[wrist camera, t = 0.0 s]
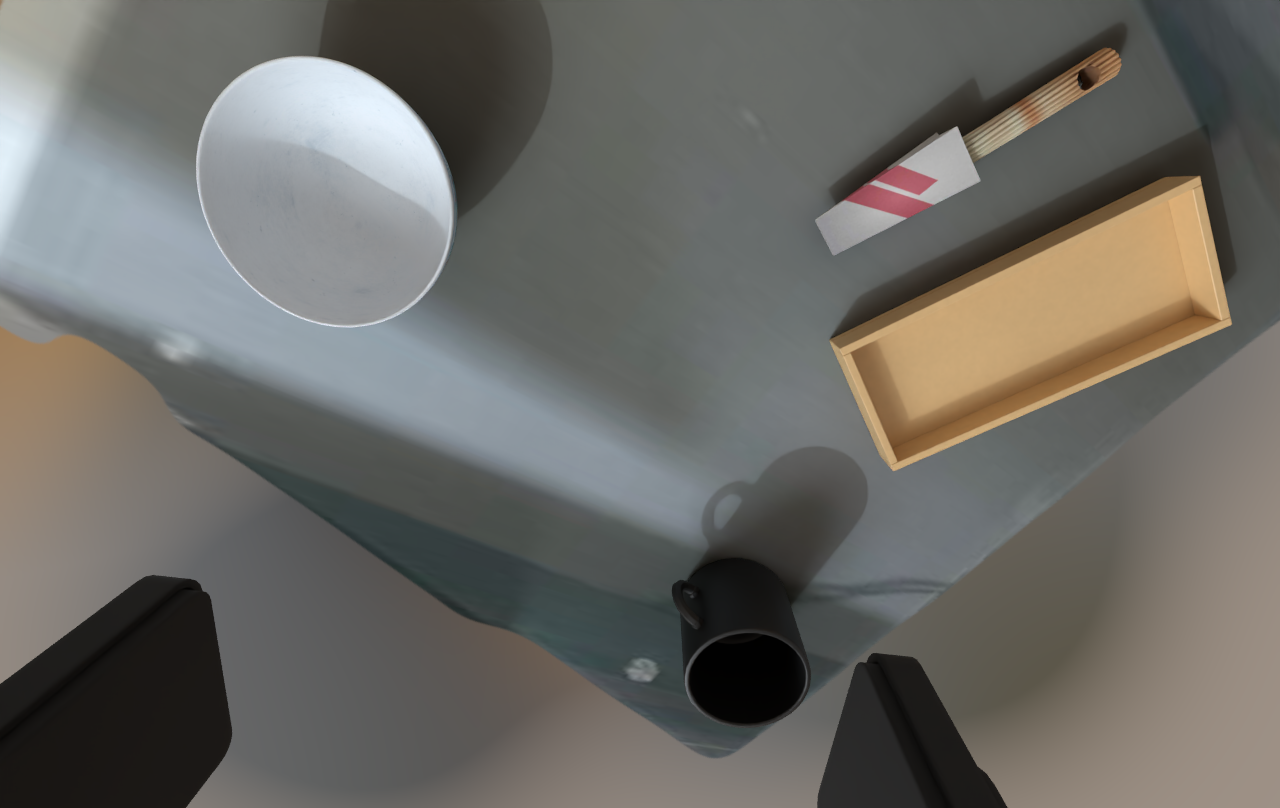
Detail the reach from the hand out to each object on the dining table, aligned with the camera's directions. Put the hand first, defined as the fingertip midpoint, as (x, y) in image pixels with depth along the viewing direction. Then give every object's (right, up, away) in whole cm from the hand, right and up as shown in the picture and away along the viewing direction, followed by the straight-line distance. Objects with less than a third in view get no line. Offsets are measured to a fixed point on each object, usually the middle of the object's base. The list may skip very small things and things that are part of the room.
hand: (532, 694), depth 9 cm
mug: (+9, -12, +44) cm, 47 cm away
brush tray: (+29, +10, +35) cm, 47 cm away
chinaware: (-17, +19, +34) cm, 42 cm away
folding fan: (+23, +21, +32) cm, 44 cm away
